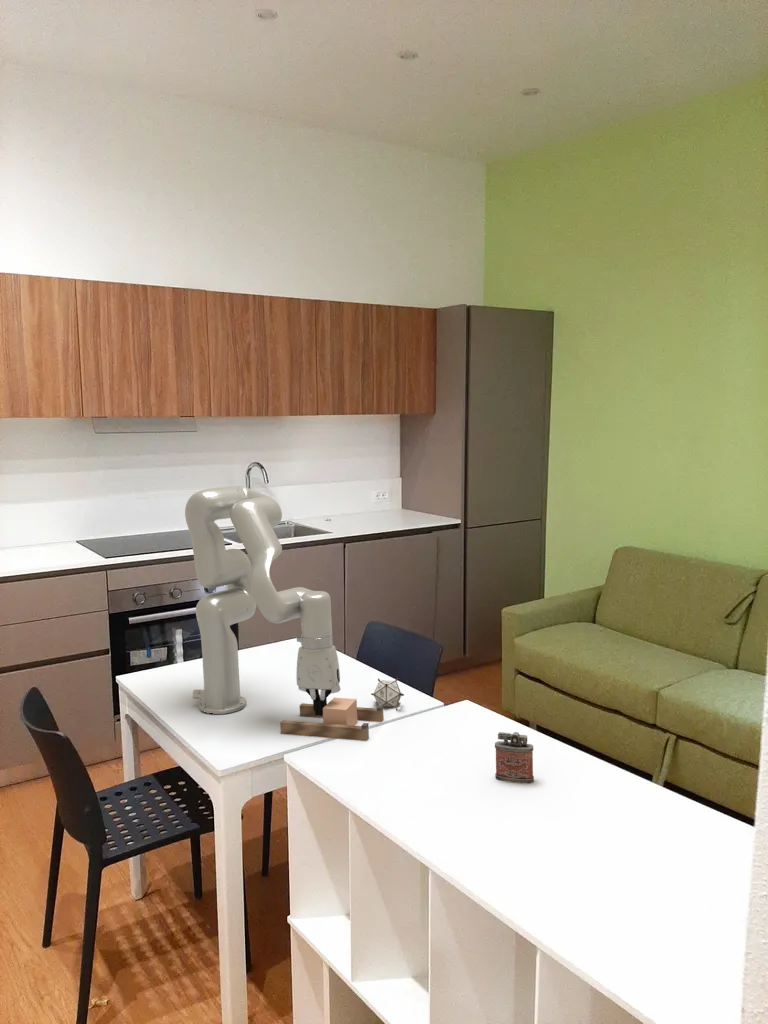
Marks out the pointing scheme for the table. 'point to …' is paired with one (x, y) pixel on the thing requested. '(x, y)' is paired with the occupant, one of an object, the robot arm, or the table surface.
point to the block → (340, 711)
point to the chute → (332, 725)
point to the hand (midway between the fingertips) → (320, 713)
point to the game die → (387, 693)
